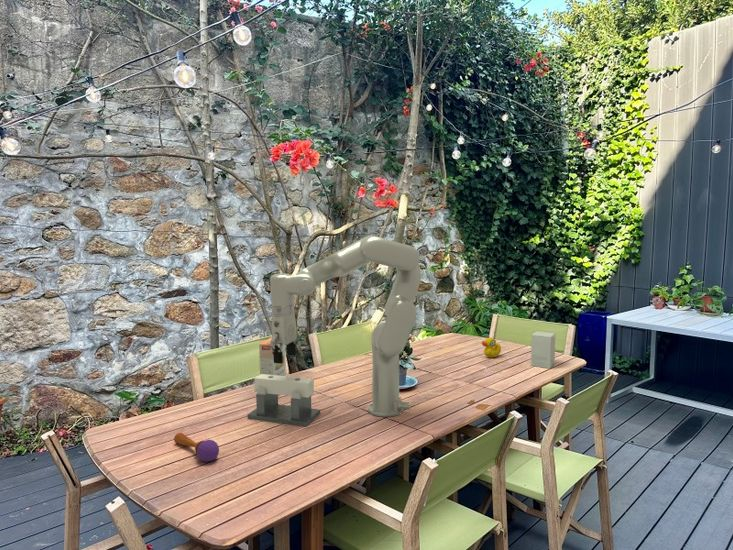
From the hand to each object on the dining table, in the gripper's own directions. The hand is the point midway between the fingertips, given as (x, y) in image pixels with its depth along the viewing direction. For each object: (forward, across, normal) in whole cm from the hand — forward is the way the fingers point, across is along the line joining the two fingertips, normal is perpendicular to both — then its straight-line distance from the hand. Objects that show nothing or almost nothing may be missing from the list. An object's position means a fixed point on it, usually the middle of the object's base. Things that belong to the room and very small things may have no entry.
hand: (285, 359), depth 179 cm
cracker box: (+20, +22, +17) cm, 34 cm away
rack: (+20, 0, +1) cm, 20 cm away
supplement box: (+24, +94, -85) cm, 129 cm away
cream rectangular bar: (+12, 0, +1) cm, 12 cm away
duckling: (+23, +100, -61) cm, 119 cm away
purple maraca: (+20, -34, +13) cm, 41 cm away
